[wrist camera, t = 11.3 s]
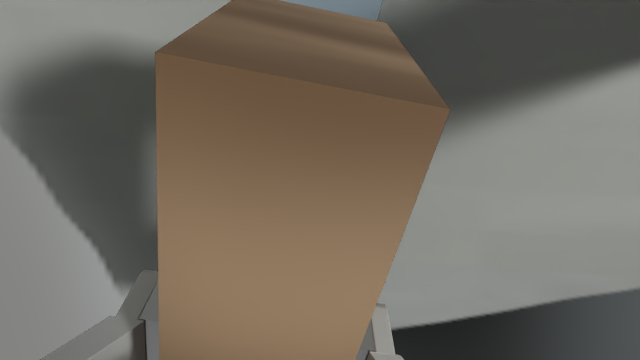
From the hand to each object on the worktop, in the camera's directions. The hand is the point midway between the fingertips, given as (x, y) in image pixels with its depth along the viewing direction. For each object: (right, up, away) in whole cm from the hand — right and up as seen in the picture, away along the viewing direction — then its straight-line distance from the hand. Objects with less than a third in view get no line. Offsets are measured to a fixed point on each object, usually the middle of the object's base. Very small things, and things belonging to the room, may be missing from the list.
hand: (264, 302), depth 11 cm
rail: (0, +1, +2) cm, 3 cm away
